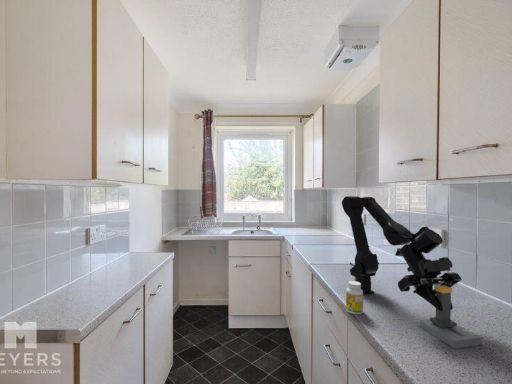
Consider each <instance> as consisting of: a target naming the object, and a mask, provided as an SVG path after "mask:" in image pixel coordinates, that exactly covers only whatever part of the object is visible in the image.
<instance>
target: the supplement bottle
mask: <svg viewBox="0 0 512 384" xmlns="http://www.w3.org/2000/svg"><path fill="white" fill-rule="evenodd" d="M347 285H348V287H346V291H345V310H346V312H347V313H349V314H352V315H362V314H363V311H364V294H363V291H362V290H361V289H360V288H361V283H359V282H356V281H355V280H350V281H348V283H347Z"/></svg>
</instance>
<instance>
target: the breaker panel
mask: <svg viewBox="0 0 512 384" xmlns="http://www.w3.org/2000/svg"><path fill="white" fill-rule="evenodd" d="M419 328H420V329H422V330H424V331H425V332H427V333H428V334H430V335H432V336H433V337H435V338H436V339H438V340H440V341H442V342H443V343H444V344H446V345H448V346H449V347H451V348H453V349H460V348H466V347H467V348H468V347H475V346H482V345H483V344H482V343H483V337H482V336H480V335H478V334H477V333H475V332H473V331H470V330H469V329H467V328H465V327H462V326H461V325H459V324H457V326H455V327H446V328H441V327H439V326H438V325H436V324H434V323H432V322H431V321H430V318H429V319H428V318H427V319H420V320H419Z"/></svg>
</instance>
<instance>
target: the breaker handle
mask: <svg viewBox="0 0 512 384" xmlns="http://www.w3.org/2000/svg"><path fill="white" fill-rule="evenodd" d="M434 289H435V290H436V294H435V295H436V296H437V298H438V300H439V302H440V303H441V305H442V308H443V310H442V311H439V310H438V309H437V308H435V316H433V317H432V316H431V317H429V319H430V321H431V322H432V323H434V324H436V325H438V326H439V327H441V328H446V327H455V326H457V325H458V324H457V322H456V321H454V320H452V318H451V317H452V315H451V311H452V310H451V302H452V293H453V288H452V287H448V286H445V285H443V286H435V288H434Z"/></svg>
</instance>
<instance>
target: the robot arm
mask: <svg viewBox="0 0 512 384" xmlns="http://www.w3.org/2000/svg"><path fill="white" fill-rule="evenodd" d="M341 206H342V209H343V211H344V213H345V215H347V217H348V219H349V223H350V226H351V231H352V235H353V240H354V243H355V244H354V245H355V249H356V254H355V256H354V265H353V266H352V267H351V268H350V269H349V272H350V275H351V276H352V277H354V281H356V282H359V283H361V288H360V289H361V290H362V291H363V295H364V294H375V291H374V290H373V289H372V277H375V276H376V274H377V272H378V270H379V269H380V268H379V265H380V262H379V260H378V255H377V254H376V253H373V252H372V251H371V249H370V246H369V241H368V238H367V237H368V236H367V233H366V229H365V225H364V221H363V216H362V215H363V213H364V209H365V210H366V211H367V212H368V213H369V215H370V216H371V217H372V218H373V219H374V221H375V222H377V224H378V225H379V226H380V227H381V230H382V233H383V234H382V235H383V236H384V237H385V239H386V241H387V242H388V243H389V245H392V246H394V247H395V246H402V247H400V248H399V247H397V248H396V252H395V256H396V257H402V258H403V259H404V261H405V263H406V264H407V266H408V267H407V268H406V270H407V271H408V272H409V273H410V272H411V273H412V274H406V275H405V276H403V277H402V278H401V279H400V280H399V281H398V282H397V287H398V289H399V291H400V292H403V293H404V292H409V291H410V290H411V287H414V289H415V290H413V291H412V292H413V293H414V294H416V295H418V296H419V297H421V298H422V299H423V300H425V301H426V302H428V303H429V304H430V305H431V306H433V307H434V308H435V309H436V308H437V309H438V310H439V311H442V310H443V308H442V305H441V303H440V302H439V300H438V298H437V296H436V290H435V286H443V285H445V286H448V287H450V288H452V287H453V286H455V285H457V284H458V283H460V282H461V281H462V277H461V276H460V274H459V273H457V272H450V271H451V269H452V268H453V261H451V260H450V258H449V257H448V256H444V257H439V258H438V259H435V260H434V259H433V260H432V259H430V258H428V259H426V256H425V255H424V254H430V253H431V252H432V251H434V250H435V249H437V248H438V247H439V246H440V245H442V244H443V242H444V241H443V238H442V237H441V235H440V234H439V233H437V232H436V231H434V230H433V229H430V228H429V227H428V226H426V225H425V226H421V228H420V229H419V230H418V231H417V232H415V233H413V232H411V230H409V229H408V228H407V227H405V226H404V225H403V224H402V223H399V222H397V221H395V220H394V219H393V218H392V217H391V216H390V214H389V213H387V212H386V210H385V209H383V207H382V206H381V205H380V204H379V202H378V201H377V200H376V199H375V197H373V196H362V197H360V196H352V195H349V196H348V195H347V196H344V197H343V199H342V200H341ZM446 271H447V272H446ZM442 272H445V273H443V274H442ZM441 274H442V275H441ZM440 275H441V276H440ZM452 302H453V301H451V311H452V310H453V309H454V307H453V303H452Z"/></svg>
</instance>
